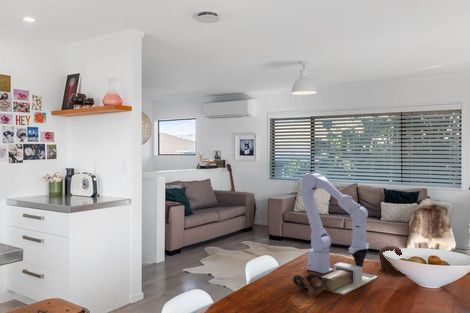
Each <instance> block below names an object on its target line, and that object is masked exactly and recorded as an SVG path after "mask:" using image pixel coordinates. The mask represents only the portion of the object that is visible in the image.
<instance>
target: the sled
mask: <svg viewBox="0 0 470 313" xmlns="http://www.w3.org/2000/svg"><path fill="white" fill-rule="evenodd" d="M321 277H322V278H323V280H324V288H323V289H322V290H324V289H326V290H325V291H328V290H329V292H332V291H334V290H336V289H338V288H340V287H343V286H345V285H347V284H349V283H351V282H353V271H351V270H347V269H339V270H337V271H335V272H334V271H331V272H330V273H327V274H325V275H322V276H321Z"/></svg>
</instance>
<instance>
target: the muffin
mask: <svg viewBox="0 0 470 313" xmlns="http://www.w3.org/2000/svg"><path fill="white" fill-rule="evenodd" d="M394 249H395V250H394ZM389 250H390V251H393V250H394V251H395V253H396V254H397V255H399V256H400V255H402V252H401V250H402V249H401V248H400V247H398V246H394V245H393V246H390V245H389V246H384V247H382V248H381V249H380V250H379V252H378V256H379V260H380V268H381V269H382V270H383V269H384V271H386V270H388V271H387V272H391V271H397V270H396V269H395V268H394V267H393V266H392V265H391V263H390V262H389V261H388V260H387V259H386V258H385V257H384V256H383V254H382V253H383V252H385V251H389Z"/></svg>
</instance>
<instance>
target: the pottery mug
mask: <svg viewBox="0 0 470 313" xmlns="http://www.w3.org/2000/svg"><path fill="white" fill-rule="evenodd" d="M315 278H317V279H318V280H319V281H321V282H320V284H318V285H316V283H315V282H313V281H312V280H313V279H315ZM292 281H293V284H294V285H295V286H296V287H297V288H298V289H299V290H303V289H304V288H306V289H308V290H307V293H306V294H307V296H310V297H312V296H313V295H316V294H317V293H320V292H322V291H323V290H324V289H323V288H324V280H323V278H322V276H321V275H320V274H319V273H317V272H308V273H306V274H305V275H303V276H301V275H297V274H295V275H294V276H293V278H292Z"/></svg>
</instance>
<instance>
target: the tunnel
mask: <svg viewBox="0 0 470 313" xmlns="http://www.w3.org/2000/svg"><path fill="white" fill-rule="evenodd" d="M333 269H334V270H333V272H335V271H337V270H339V269H347V270H351V271H353V282H351V283H349V284H347V285H345V286H343V287H340V288H338V289H336V290H334V291H331V292H332V293H336V294H339V295H342V296H344V295H346V294H347V293H350V292H352V291H353V290H356V289H358V288H360V287H362V286H363V285H366V284H368V283H370V282H372V281H373V280H375V279H377V277H378V276H377V275H374V274H370V273H365V272H363V266H362V267H360V266H356V264H349V263H345V262H337V263H335V264H333ZM378 278H379V277H378ZM323 290H325V291H329V290H326V289H323ZM329 292H330V291H329Z"/></svg>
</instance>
